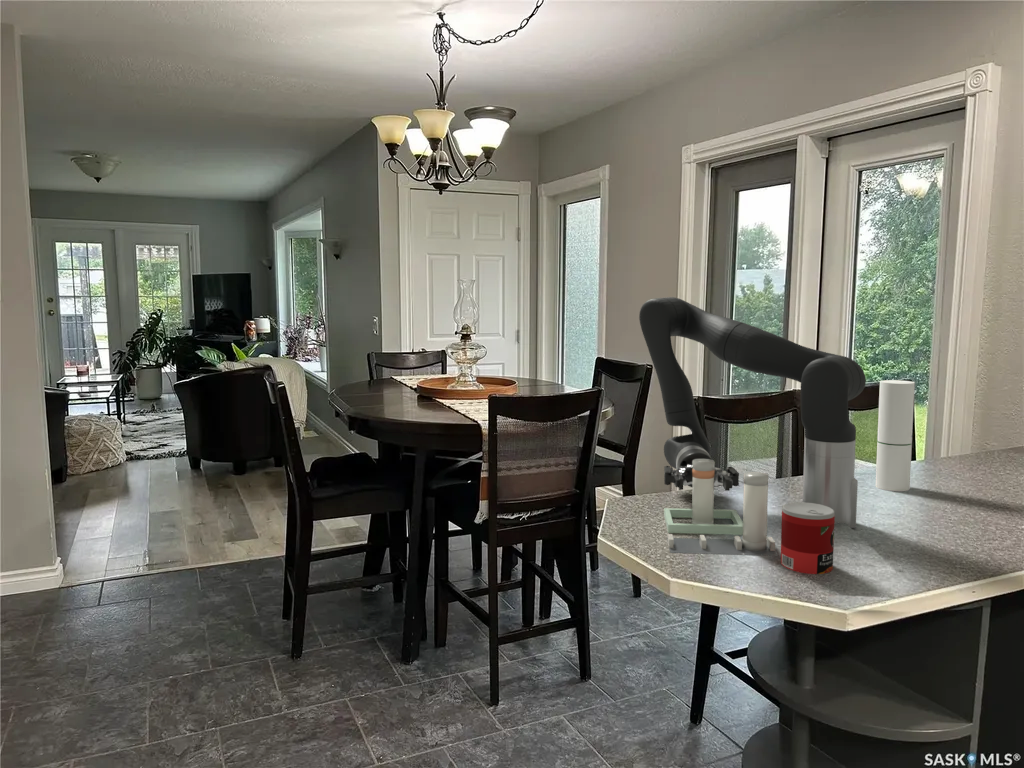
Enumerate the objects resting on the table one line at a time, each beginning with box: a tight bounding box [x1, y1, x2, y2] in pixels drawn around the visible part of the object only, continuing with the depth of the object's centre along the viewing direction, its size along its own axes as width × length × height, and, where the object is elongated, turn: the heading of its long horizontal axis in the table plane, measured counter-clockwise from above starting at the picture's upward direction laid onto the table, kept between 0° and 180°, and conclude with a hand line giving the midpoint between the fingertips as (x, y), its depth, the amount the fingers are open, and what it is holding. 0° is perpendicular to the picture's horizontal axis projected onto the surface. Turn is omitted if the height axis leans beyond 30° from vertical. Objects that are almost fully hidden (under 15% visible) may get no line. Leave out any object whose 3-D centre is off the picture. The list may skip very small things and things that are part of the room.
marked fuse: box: [691, 459, 716, 524], centre depth 141 cm, size 4×4×13 cm
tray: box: [663, 507, 743, 536], centre depth 141 cm, size 14×11×3 cm
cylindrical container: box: [875, 379, 916, 492], centre depth 171 cm, size 7×7×25 cm
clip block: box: [666, 533, 779, 557], centre depth 129 cm, size 18×8×3 cm, turn 82°
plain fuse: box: [741, 471, 770, 551], centre depth 127 cm, size 4×4×13 cm
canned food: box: [780, 501, 835, 575], centre depth 119 cm, size 8×8×11 cm
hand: (704, 485), depth 139 cm, fingers open, 8 cm apart
